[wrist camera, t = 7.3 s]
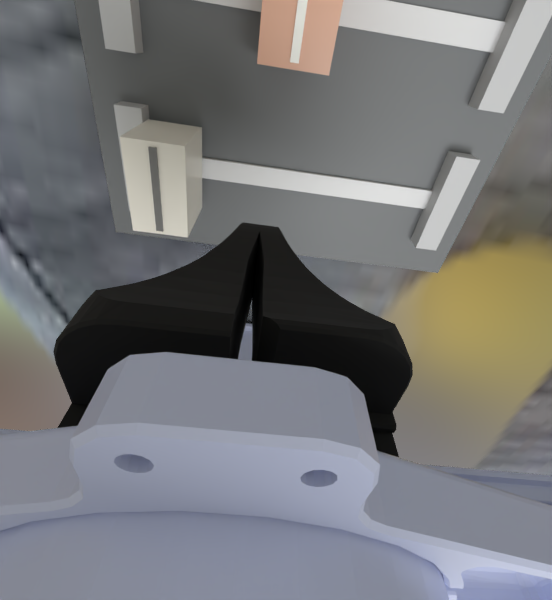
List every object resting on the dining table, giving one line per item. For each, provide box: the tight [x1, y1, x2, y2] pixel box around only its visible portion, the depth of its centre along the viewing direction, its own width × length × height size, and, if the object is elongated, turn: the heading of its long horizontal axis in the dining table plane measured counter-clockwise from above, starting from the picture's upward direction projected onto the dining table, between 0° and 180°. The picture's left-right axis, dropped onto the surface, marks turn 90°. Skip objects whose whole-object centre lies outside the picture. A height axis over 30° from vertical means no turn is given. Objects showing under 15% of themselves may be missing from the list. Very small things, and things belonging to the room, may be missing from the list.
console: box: [74, 0, 552, 273], centre depth 16 cm, size 16×20×2 cm
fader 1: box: [120, 119, 202, 237], centre depth 16 cm, size 4×2×4 cm, turn 172°
